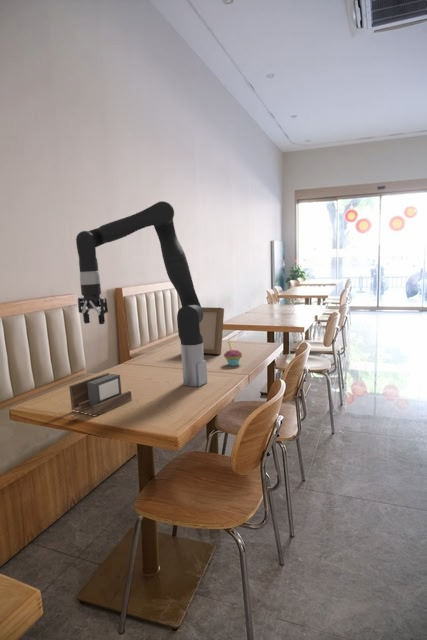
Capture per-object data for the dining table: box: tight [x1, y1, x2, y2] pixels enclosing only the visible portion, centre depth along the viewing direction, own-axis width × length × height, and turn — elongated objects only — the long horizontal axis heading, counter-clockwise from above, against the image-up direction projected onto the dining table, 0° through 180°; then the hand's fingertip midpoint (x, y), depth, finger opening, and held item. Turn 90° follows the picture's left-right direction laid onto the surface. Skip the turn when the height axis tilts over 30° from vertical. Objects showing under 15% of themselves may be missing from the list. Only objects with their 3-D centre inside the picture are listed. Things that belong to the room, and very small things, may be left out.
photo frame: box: [199, 306, 225, 355], centre depth 233 cm, size 15×22×25 cm
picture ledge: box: [68, 372, 133, 416], centre depth 154 cm, size 12×18×10 cm, turn 148°
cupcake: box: [223, 340, 243, 367], centre depth 203 cm, size 9×8×12 cm
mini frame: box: [87, 373, 123, 407], centre depth 153 cm, size 4×12×9 cm, turn 147°
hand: (94, 323), depth 168 cm, fingers open, 8 cm apart
